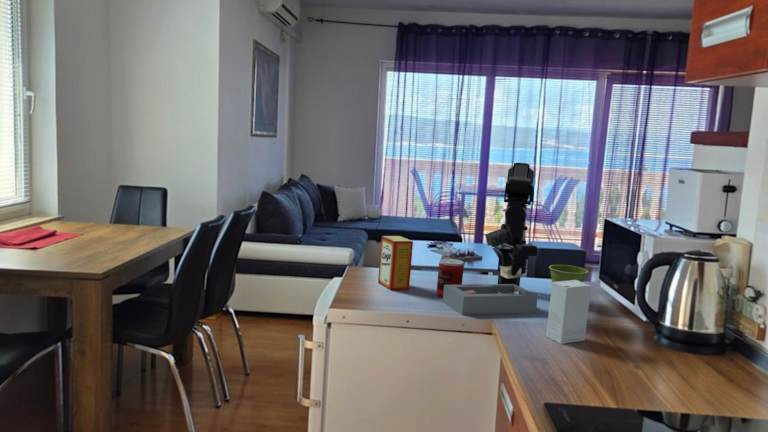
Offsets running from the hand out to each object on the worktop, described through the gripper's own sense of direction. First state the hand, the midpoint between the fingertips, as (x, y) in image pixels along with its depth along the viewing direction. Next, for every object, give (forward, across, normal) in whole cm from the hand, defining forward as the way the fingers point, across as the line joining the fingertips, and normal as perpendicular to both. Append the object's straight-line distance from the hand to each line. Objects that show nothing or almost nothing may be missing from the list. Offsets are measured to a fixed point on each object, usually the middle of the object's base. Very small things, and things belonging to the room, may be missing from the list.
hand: (509, 273), depth 181 cm
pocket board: (+10, 0, -6) cm, 12 cm away
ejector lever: (+8, 0, -5) cm, 9 cm away
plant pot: (+10, -2, +22) cm, 25 cm away
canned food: (+10, -13, -13) cm, 21 cm away
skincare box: (+10, +29, 0) cm, 31 cm away
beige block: (+1, 0, 0) cm, 1 cm away
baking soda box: (+10, -25, -27) cm, 38 cm away
